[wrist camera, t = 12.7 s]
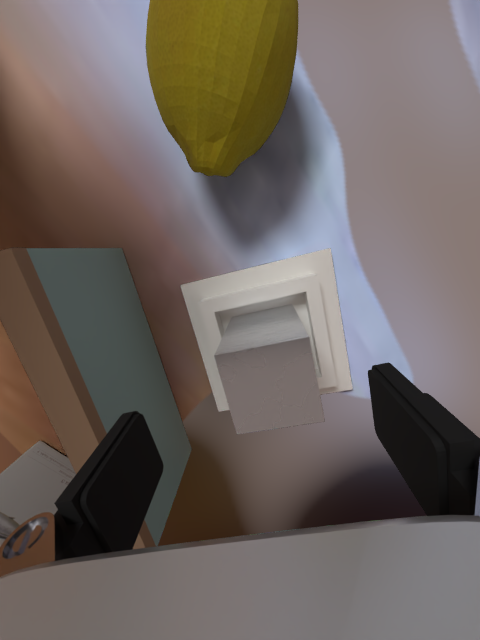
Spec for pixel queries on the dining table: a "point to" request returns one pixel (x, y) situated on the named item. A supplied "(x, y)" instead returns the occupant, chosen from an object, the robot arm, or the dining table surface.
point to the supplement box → (32, 486)
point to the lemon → (221, 74)
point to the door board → (92, 357)
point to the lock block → (269, 371)
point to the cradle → (269, 292)
